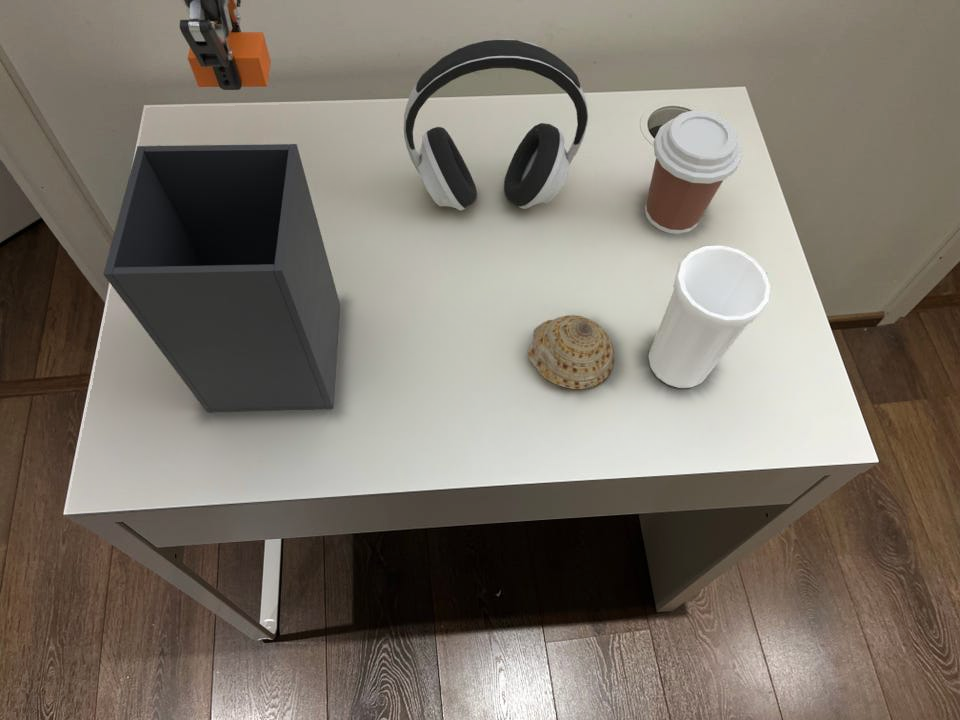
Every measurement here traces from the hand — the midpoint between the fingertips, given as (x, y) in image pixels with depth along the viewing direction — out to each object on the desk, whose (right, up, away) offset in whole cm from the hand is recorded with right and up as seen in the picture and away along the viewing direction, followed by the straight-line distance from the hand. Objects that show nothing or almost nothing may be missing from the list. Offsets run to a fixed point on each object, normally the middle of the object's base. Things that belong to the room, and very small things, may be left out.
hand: (234, 72), depth 73 cm
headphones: (+27, -11, +9) cm, 31 cm away
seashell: (+35, -30, -1) cm, 46 cm away
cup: (+46, -30, -1) cm, 55 cm away
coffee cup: (+48, -13, +9) cm, 51 cm away
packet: (0, 0, 0) cm, 0 cm away
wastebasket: (+5, -30, -2) cm, 30 cm away
